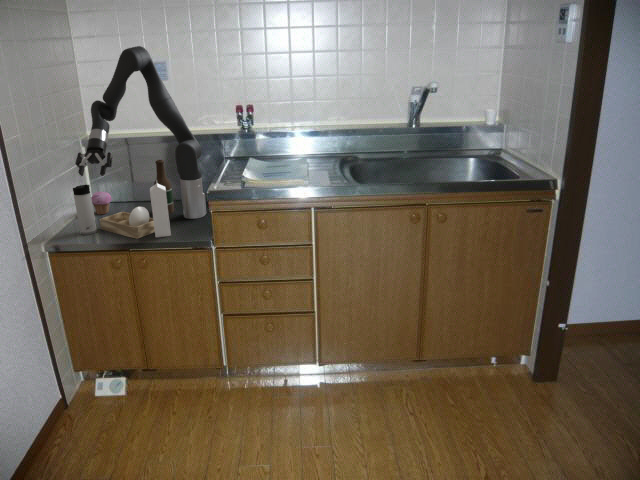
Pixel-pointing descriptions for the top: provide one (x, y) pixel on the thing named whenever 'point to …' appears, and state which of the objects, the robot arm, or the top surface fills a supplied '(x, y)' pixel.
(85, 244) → the top surface
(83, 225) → the travel mug
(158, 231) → the milk
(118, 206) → the top surface
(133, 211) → the saucer
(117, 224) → the wooden compartment box
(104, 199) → the cupcake
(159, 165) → the beer bottle
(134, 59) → the robot arm
